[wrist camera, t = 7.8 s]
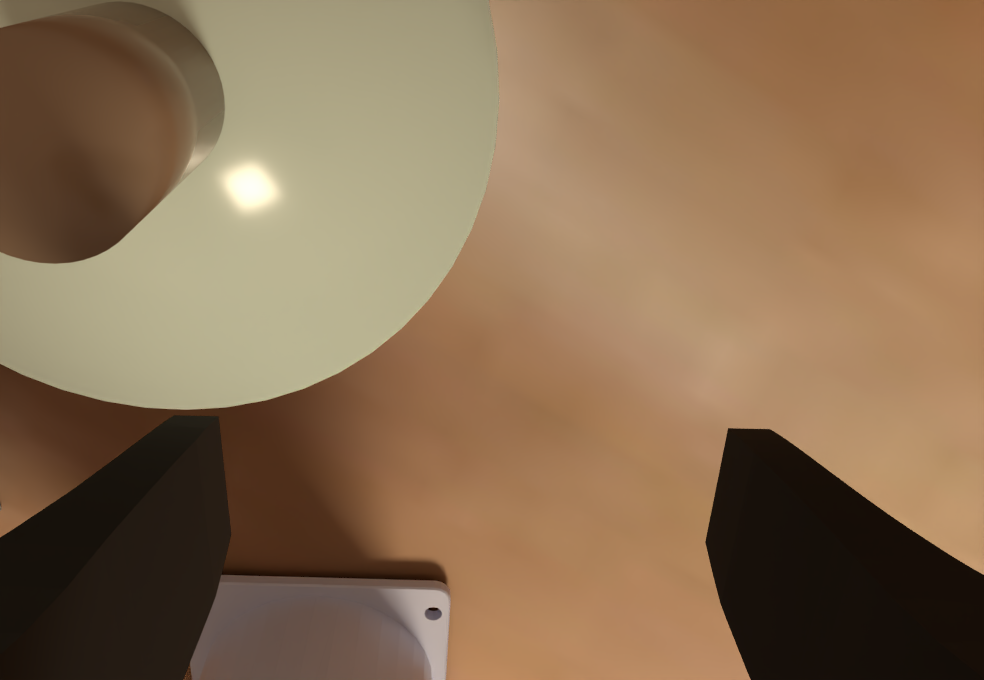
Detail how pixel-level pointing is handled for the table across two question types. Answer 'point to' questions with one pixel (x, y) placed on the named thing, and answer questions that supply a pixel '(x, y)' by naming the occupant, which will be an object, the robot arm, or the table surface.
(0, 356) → the lid
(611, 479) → the table surface
